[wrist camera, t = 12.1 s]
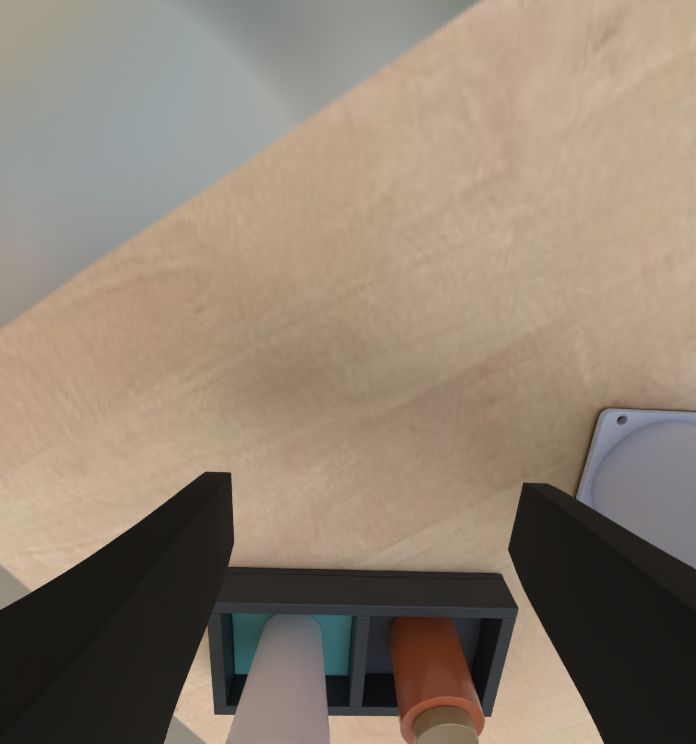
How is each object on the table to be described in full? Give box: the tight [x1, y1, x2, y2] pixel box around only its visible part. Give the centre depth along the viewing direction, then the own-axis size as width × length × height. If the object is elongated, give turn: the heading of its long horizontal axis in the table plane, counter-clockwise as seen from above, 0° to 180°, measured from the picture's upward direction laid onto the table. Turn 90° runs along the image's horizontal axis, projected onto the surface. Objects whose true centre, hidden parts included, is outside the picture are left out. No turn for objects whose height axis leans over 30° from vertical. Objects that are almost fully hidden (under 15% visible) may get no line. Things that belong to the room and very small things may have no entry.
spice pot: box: [388, 617, 485, 744], centre depth 21 cm, size 4×4×6 cm
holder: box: [208, 568, 518, 717], centre depth 23 cm, size 9×17×2 cm, turn 87°
